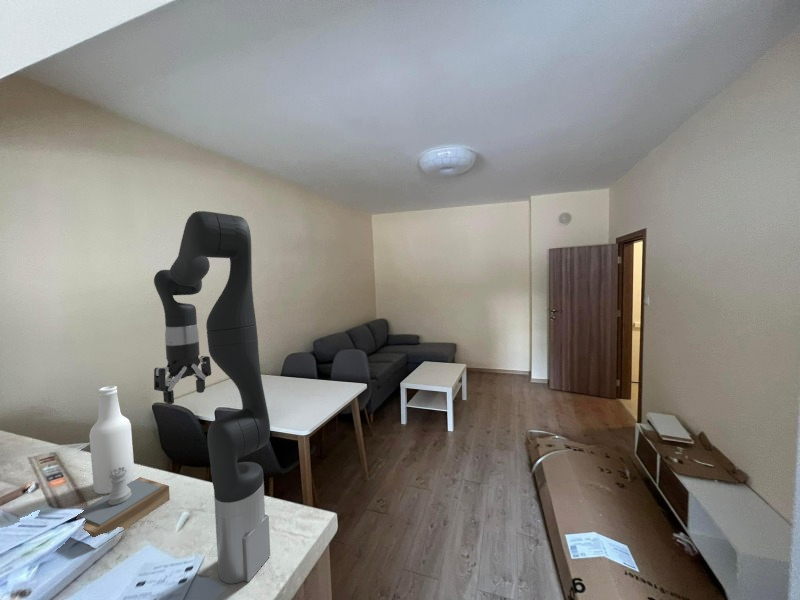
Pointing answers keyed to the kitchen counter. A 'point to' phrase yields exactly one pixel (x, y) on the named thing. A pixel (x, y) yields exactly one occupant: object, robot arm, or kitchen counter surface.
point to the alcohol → (110, 442)
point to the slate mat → (105, 512)
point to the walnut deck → (132, 511)
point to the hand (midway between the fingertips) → (185, 397)
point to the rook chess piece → (119, 487)
